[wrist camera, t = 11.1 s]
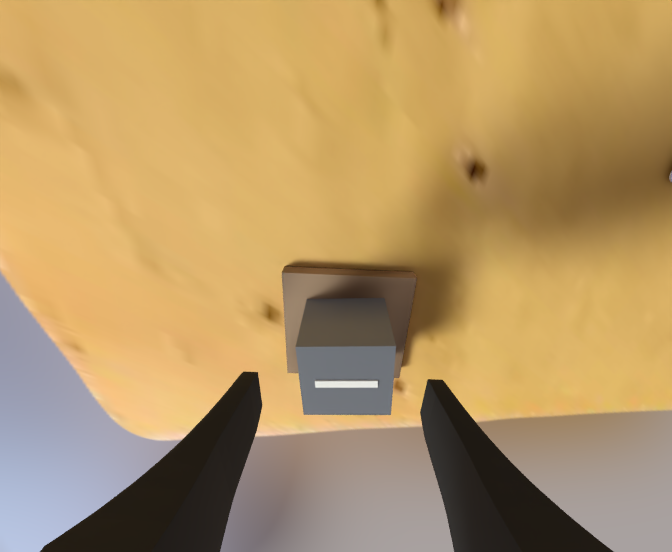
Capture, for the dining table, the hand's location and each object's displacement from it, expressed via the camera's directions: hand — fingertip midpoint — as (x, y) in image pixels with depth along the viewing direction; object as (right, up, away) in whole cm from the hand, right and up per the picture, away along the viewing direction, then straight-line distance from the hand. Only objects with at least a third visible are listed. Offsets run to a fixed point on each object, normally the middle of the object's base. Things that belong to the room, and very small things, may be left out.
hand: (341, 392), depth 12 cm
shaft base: (+1, +1, +10) cm, 10 cm away
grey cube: (+1, +1, +9) cm, 9 cm away
